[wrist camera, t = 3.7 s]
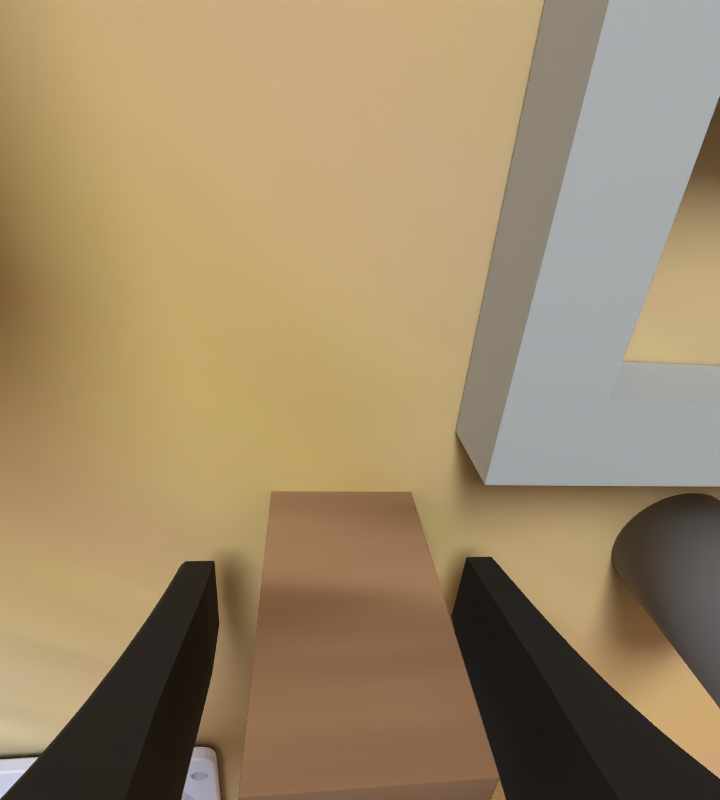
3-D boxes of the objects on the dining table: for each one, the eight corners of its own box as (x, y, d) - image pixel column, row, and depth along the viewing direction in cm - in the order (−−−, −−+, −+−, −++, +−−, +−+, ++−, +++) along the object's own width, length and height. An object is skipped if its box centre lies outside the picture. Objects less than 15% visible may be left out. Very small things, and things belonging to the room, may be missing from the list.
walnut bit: (394, 588, 13) (454, 883, 8) (271, 591, 13) (246, 906, 7) (410, 492, 11) (500, 777, 6) (271, 491, 11) (238, 798, 6)
